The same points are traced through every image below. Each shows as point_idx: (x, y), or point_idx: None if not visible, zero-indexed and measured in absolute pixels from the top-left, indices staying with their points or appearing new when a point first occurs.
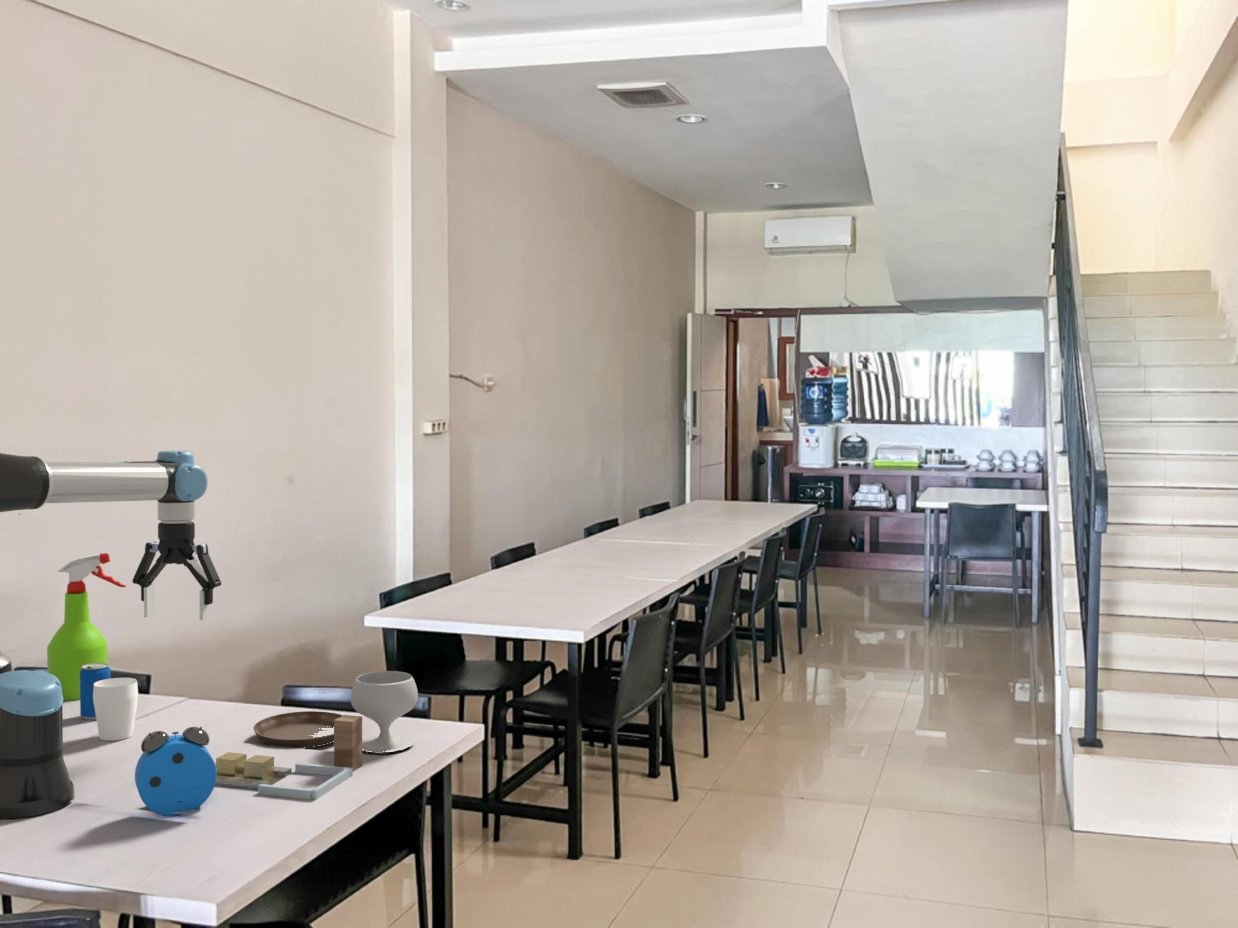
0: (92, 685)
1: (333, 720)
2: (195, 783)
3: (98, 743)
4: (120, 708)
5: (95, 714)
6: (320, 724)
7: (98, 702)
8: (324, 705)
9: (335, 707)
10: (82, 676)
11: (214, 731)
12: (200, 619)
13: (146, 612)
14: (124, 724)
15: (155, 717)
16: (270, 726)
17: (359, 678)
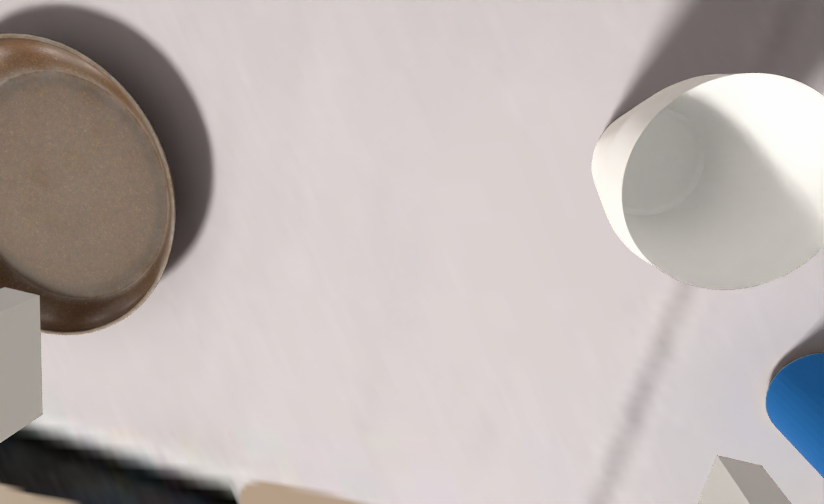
0: None
1: None
2: None
3: (680, 75)
4: (640, 103)
5: (810, 359)
6: (63, 296)
7: (757, 83)
8: (151, 495)
9: (114, 476)
10: None
11: (343, 237)
12: (24, 297)
13: (755, 501)
14: (613, 124)
15: (595, 384)
16: (167, 241)
17: None
